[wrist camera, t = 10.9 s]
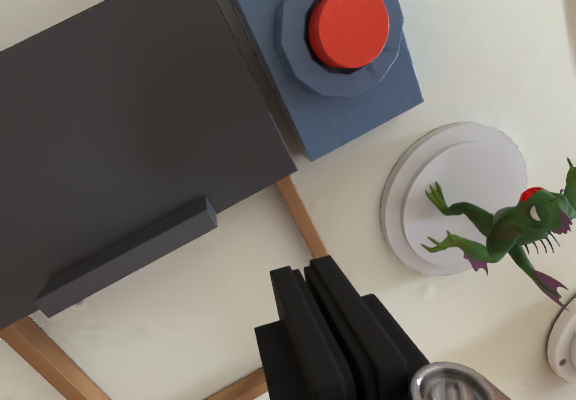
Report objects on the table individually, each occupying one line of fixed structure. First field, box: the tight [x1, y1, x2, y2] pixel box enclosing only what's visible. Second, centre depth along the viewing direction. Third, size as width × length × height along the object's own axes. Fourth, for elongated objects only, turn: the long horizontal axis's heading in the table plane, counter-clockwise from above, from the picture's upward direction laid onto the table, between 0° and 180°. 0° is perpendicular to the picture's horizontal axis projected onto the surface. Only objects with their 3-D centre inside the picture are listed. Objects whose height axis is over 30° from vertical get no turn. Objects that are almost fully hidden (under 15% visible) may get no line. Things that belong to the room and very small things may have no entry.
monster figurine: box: [380, 123, 576, 311], centre depth 24 cm, size 12×12×10 cm
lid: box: [0, 0, 297, 330], centre depth 18 cm, size 21×12×3 cm, turn 115°
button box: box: [230, 0, 424, 161], centre depth 20 cm, size 8×12×4 cm, turn 25°
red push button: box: [308, 0, 389, 69], centre depth 18 cm, size 4×4×2 cm
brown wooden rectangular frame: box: [0, 175, 329, 400], centre depth 24 cm, size 20×27×2 cm
